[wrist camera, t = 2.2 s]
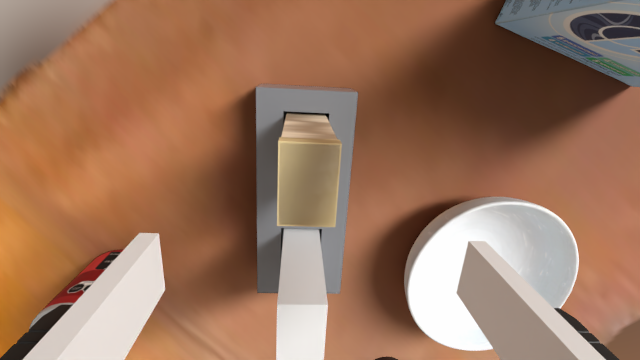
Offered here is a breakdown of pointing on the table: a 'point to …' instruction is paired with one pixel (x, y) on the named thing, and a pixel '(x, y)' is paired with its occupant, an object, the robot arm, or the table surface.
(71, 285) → the canned food
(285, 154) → the beech plug
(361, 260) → the table surface
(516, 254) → the serving bowl
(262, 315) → the table surface
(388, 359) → the coffee mug
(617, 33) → the gum box
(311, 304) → the white plug
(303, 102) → the grey peg board
